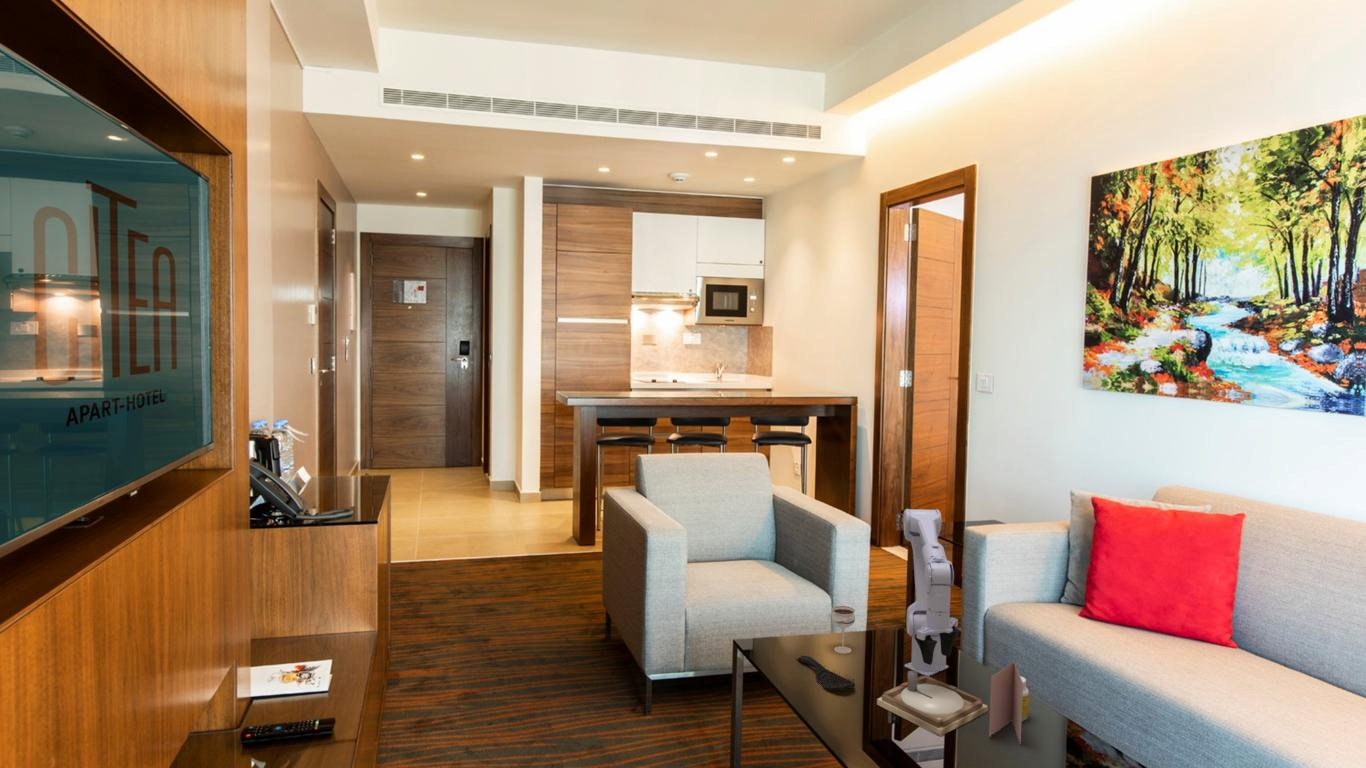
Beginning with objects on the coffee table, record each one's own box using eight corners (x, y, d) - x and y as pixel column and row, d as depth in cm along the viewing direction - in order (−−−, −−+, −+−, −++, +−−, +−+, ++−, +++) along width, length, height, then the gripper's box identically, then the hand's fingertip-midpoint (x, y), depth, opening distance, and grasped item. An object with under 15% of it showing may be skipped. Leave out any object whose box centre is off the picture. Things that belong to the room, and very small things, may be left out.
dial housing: (924, 683, 221) (924, 672, 221) (987, 711, 206) (988, 700, 206) (876, 704, 210) (877, 693, 210) (940, 736, 195) (940, 724, 195)
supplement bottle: (1017, 724, 200) (1018, 685, 199) (999, 714, 205) (1000, 676, 204) (1032, 718, 203) (1034, 680, 202) (1014, 709, 208) (1016, 671, 207)
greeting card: (1008, 719, 203) (1010, 660, 201) (1038, 731, 197) (1041, 670, 196) (985, 736, 195) (987, 675, 193) (1016, 749, 190) (1018, 686, 188)
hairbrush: (810, 646, 239) (862, 678, 216) (811, 658, 240) (862, 692, 217) (785, 651, 236) (835, 685, 213) (786, 664, 236) (836, 699, 213)
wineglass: (830, 644, 246) (830, 605, 245) (853, 645, 246) (854, 606, 244) (831, 654, 239) (832, 614, 238) (855, 655, 239) (856, 615, 237)
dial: (975, 704, 207) (976, 683, 206) (939, 723, 198) (939, 702, 197) (925, 682, 219) (925, 662, 218) (888, 699, 209) (889, 679, 209)
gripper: (933, 620, 206) (932, 672, 207) (968, 606, 214) (966, 657, 216) (910, 611, 211) (909, 662, 213) (945, 598, 220) (943, 647, 221)
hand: (936, 659), depth 215 cm, fingers open, 7 cm apart
